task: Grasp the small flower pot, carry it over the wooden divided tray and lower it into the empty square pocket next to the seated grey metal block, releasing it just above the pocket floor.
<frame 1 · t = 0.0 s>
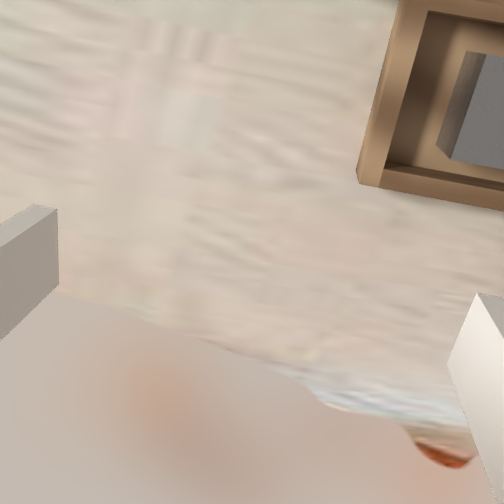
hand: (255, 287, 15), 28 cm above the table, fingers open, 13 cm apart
grey metal block: (495, 107, 37), point 1 cm above the table, touching wooden divided tray
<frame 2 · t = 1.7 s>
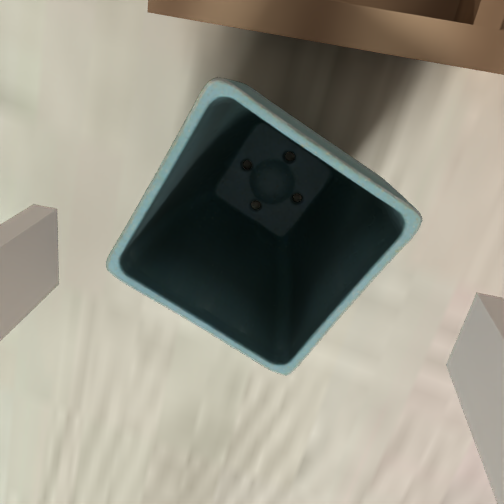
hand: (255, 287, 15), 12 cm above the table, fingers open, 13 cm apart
flower pot: (272, 176, 26), on the table
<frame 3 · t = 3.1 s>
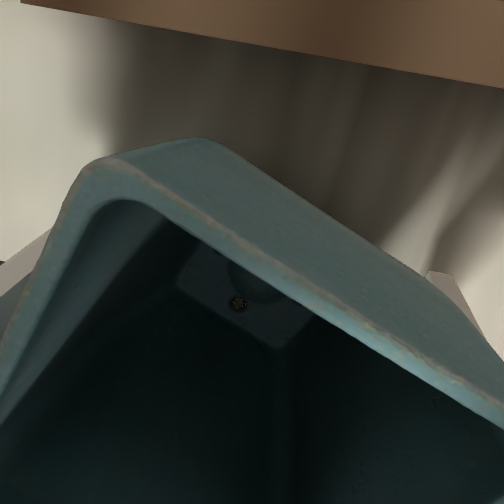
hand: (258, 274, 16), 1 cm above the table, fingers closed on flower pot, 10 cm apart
flower pot: (264, 261, 17), on the table, touching gripper
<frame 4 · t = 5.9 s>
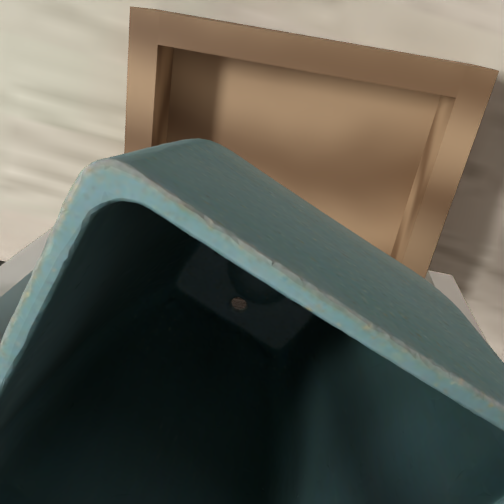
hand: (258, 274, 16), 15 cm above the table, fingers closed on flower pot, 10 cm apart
flower pot: (264, 261, 17), point 14 cm above the table, touching gripper
wooden divided tray: (272, 245, 32), on the table
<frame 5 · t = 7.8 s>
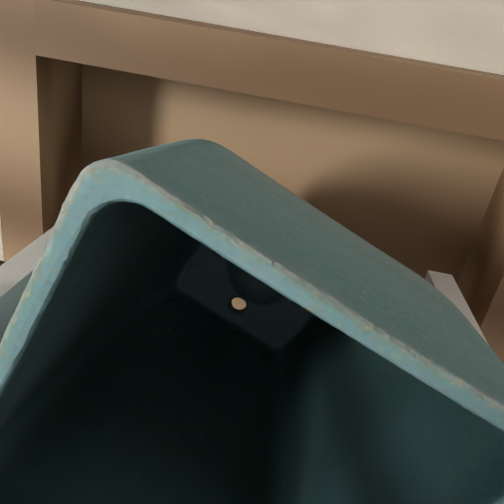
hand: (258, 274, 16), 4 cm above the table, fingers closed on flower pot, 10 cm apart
flower pot: (264, 261, 17), point 3 cm above the table, touching gripper
wooden divided tray: (248, 344, 22), on the table
when the fingers open (3 cm above the table, at t = 8.6 s): flower pot drops 1 cm, resting on wooden divided tray.
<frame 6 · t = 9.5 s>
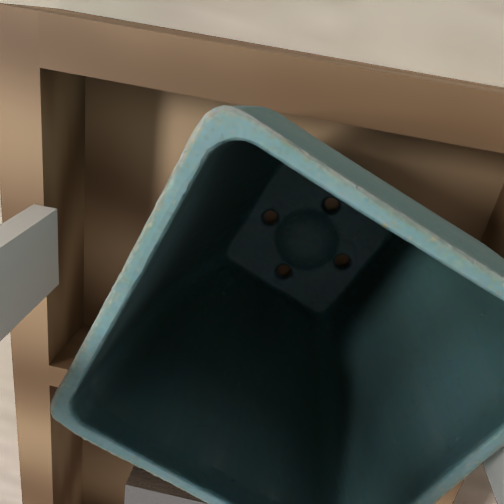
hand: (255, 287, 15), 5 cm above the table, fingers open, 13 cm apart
flower pot: (306, 231, 18), point 1 cm above the table, touching gripper, wooden divided tray
grey metal block: (227, 463, 24), point 1 cm above the table, touching wooden divided tray
wooden divided tray: (249, 354, 22), on the table
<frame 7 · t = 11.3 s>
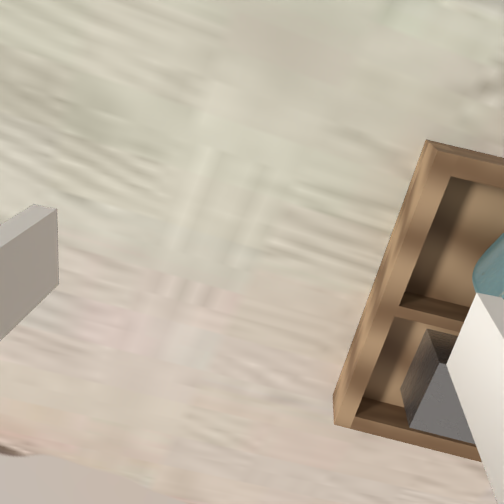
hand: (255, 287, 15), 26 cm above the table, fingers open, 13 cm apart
grey metal block: (450, 368, 44), point 1 cm above the table, touching wooden divided tray
wooden divided tray: (473, 308, 42), on the table
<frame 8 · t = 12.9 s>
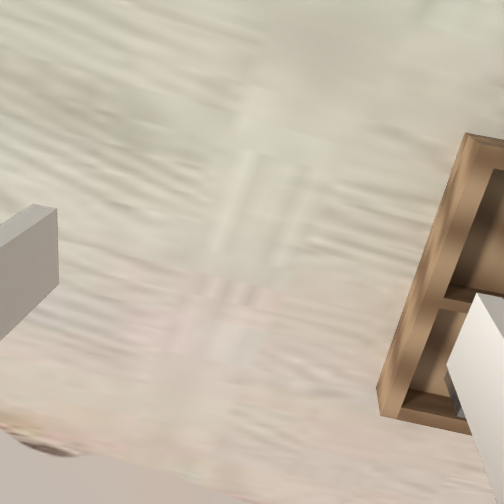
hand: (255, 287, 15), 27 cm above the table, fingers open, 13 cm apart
grey metal block: (494, 357, 44), point 1 cm above the table, touching wooden divided tray
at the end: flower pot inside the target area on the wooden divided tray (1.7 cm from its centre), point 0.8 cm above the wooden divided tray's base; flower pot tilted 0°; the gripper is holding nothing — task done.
